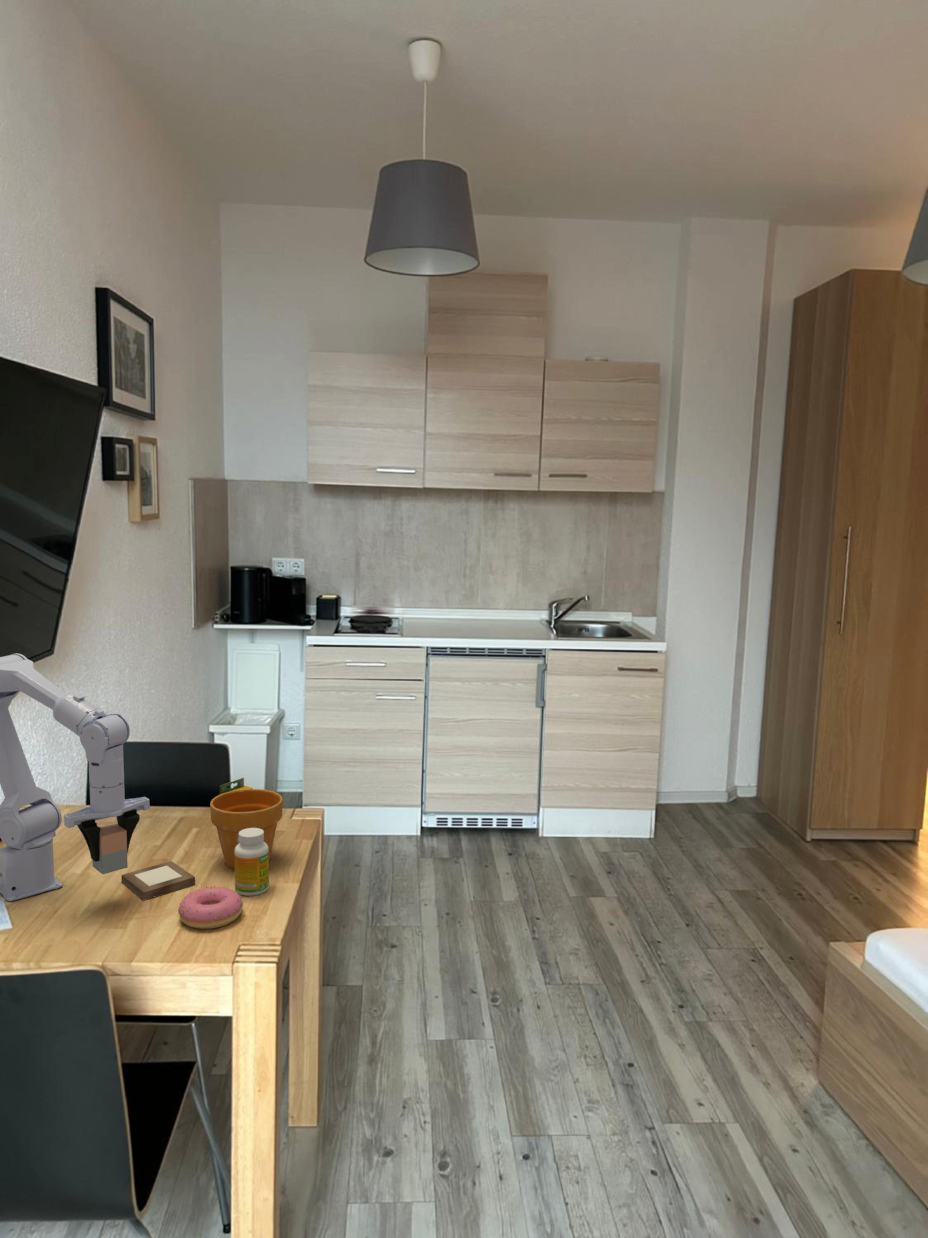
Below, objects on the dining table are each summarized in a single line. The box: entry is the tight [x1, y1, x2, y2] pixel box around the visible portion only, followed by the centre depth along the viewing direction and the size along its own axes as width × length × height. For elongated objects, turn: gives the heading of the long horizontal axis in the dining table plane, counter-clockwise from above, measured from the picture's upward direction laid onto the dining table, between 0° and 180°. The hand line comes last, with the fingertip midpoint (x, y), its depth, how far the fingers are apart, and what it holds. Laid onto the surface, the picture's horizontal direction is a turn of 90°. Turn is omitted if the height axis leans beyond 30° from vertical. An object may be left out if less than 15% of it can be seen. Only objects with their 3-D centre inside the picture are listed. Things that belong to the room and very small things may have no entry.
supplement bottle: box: [234, 828, 270, 897], centre depth 162 cm, size 6×6×11 cm
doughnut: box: [177, 885, 244, 930], centre depth 152 cm, size 11×11×4 cm
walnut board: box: [121, 860, 196, 901], centre depth 165 cm, size 10×10×2 cm
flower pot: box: [209, 788, 284, 870], centre depth 175 cm, size 14×14×13 cm
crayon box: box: [219, 777, 254, 795], centre depth 190 cm, size 7×3×12 cm, turn 148°
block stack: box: [92, 823, 129, 875], centre depth 155 cm, size 4×4×7 cm
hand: (109, 856), depth 156 cm, fingers closed on block stack, 4 cm apart
